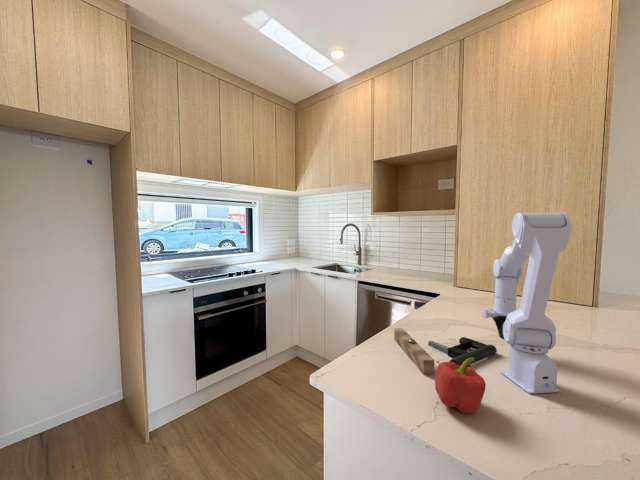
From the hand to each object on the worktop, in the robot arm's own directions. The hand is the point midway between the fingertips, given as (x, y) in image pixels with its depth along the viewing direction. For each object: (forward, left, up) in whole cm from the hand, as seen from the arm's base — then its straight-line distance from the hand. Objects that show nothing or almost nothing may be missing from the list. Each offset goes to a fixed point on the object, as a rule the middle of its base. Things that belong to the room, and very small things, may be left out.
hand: (503, 338), depth 86 cm
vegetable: (-23, +30, -4) cm, 38 cm away
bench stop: (0, +31, -4) cm, 31 cm away
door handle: (0, +16, -5) cm, 16 cm away
